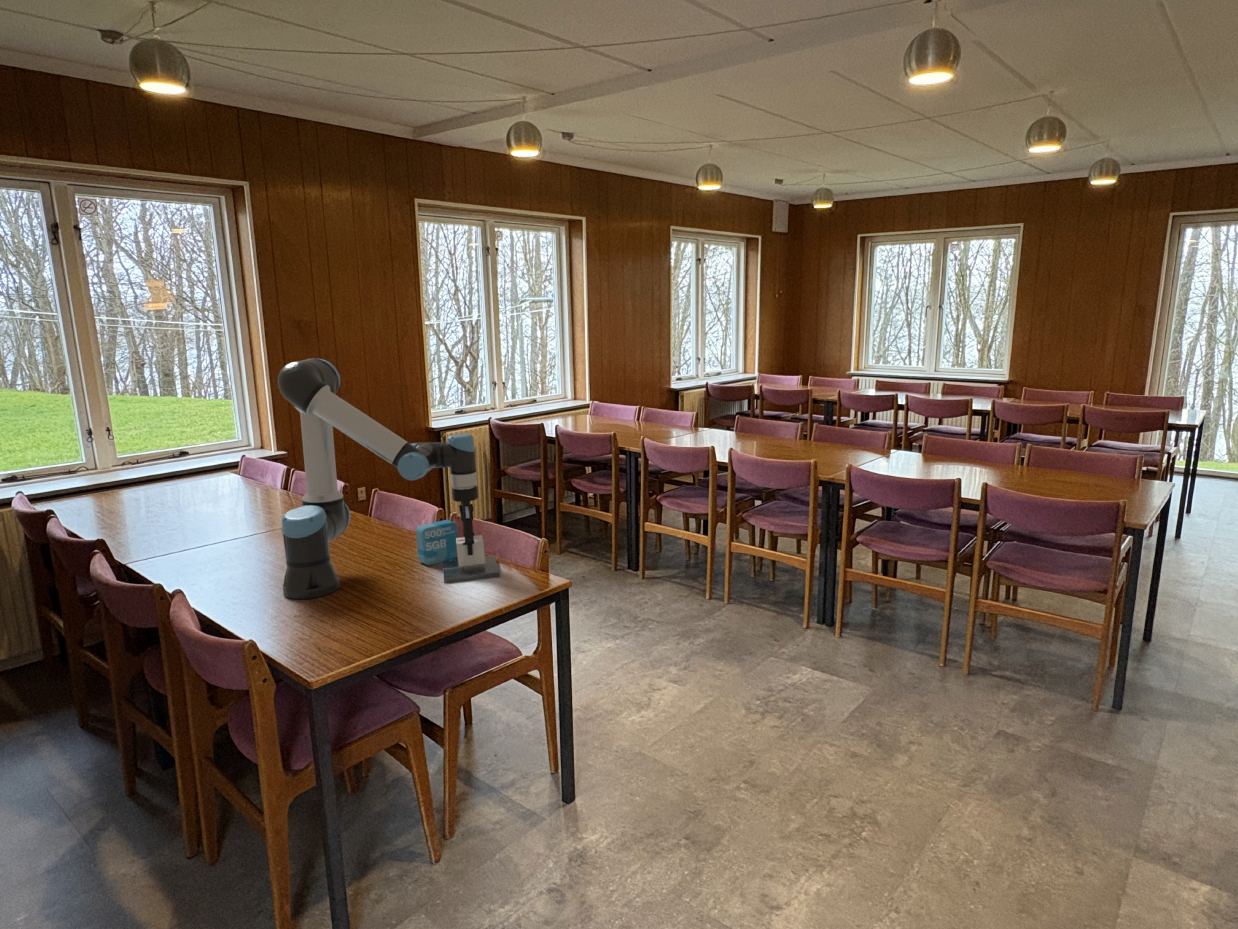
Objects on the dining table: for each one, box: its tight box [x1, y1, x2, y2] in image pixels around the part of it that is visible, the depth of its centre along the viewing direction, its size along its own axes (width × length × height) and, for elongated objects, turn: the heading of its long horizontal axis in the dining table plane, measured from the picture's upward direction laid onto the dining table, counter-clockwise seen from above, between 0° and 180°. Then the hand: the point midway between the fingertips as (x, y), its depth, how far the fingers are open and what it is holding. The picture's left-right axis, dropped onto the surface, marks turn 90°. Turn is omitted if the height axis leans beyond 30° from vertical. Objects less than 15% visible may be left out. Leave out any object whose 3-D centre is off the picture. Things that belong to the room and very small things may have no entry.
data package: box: [415, 519, 459, 566], centre depth 243 cm, size 12×4×12 cm, turn 130°
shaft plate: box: [442, 555, 501, 584], centre depth 233 cm, size 16×16×6 cm
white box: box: [456, 534, 486, 567], centre depth 232 cm, size 6×8×7 cm
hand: (470, 561), depth 233 cm, fingers closed on white box, 6 cm apart
